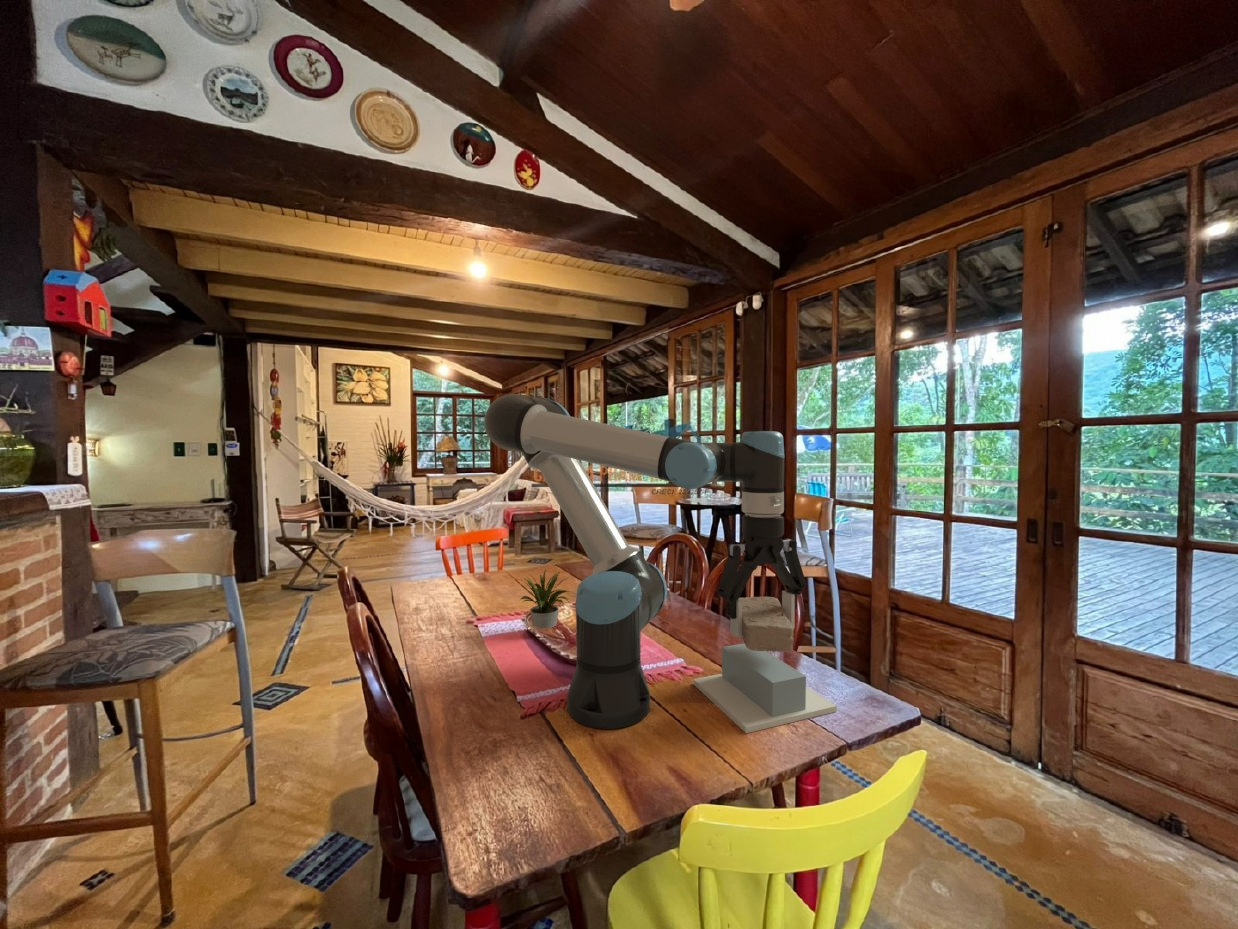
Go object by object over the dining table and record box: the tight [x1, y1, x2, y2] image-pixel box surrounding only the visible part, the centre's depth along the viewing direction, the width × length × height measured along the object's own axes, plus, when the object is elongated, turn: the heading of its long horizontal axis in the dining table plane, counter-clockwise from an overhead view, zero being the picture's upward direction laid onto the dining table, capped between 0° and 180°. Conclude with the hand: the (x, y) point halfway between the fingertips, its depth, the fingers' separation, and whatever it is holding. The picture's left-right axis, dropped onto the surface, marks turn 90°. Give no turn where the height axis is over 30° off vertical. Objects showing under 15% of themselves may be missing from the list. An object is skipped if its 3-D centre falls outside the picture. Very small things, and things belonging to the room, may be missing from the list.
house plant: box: [517, 568, 571, 629], centre depth 124 cm, size 14×14×16 cm
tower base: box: [692, 643, 838, 734], centre depth 94 cm, size 19×18×7 cm
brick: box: [738, 596, 795, 653], centre depth 93 cm, size 17×8×5 cm, turn 173°
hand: (762, 630), depth 93 cm, fingers closed on brick, 11 cm apart
